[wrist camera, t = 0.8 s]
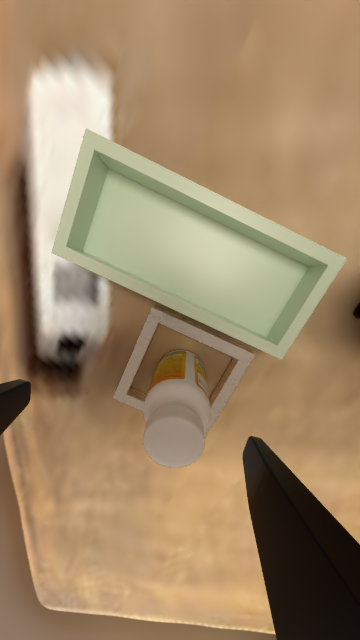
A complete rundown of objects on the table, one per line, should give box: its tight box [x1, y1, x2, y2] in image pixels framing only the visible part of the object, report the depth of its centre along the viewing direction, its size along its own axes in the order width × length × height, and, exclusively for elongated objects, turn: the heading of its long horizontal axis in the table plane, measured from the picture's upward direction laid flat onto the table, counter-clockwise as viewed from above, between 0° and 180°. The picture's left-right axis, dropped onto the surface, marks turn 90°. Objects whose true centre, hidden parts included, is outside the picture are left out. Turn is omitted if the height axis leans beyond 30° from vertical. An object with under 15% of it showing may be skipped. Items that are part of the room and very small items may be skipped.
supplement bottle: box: [143, 350, 211, 468], centre depth 17 cm, size 5×5×10 cm
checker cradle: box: [113, 305, 255, 439], centre depth 21 cm, size 11×11×2 cm
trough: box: [52, 129, 347, 360], centre depth 17 cm, size 22×10×4 cm, turn 65°
